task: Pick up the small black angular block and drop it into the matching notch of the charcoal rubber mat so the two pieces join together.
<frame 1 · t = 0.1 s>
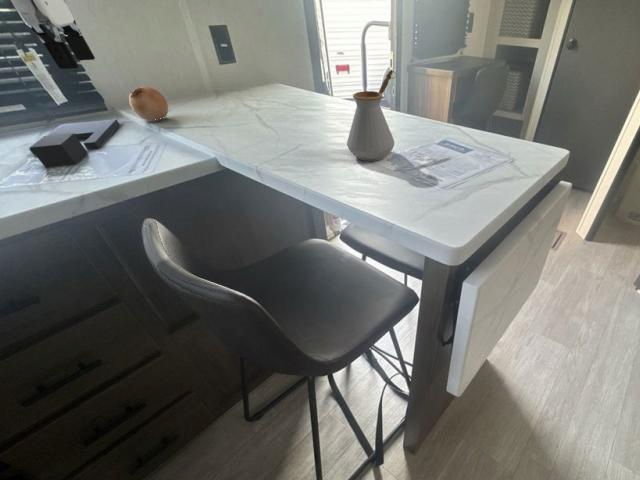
hand: (78, 63, 65), 18 cm above the countertop, tool pointing down, fingers open, 9 cm apart
coffee pot: (379, 148, 81), on the countertop
notched mat: (80, 138, 86), on the countertop
onion: (157, 120, 97), on the countertop
black angular block: (67, 159, 76), on the countertop
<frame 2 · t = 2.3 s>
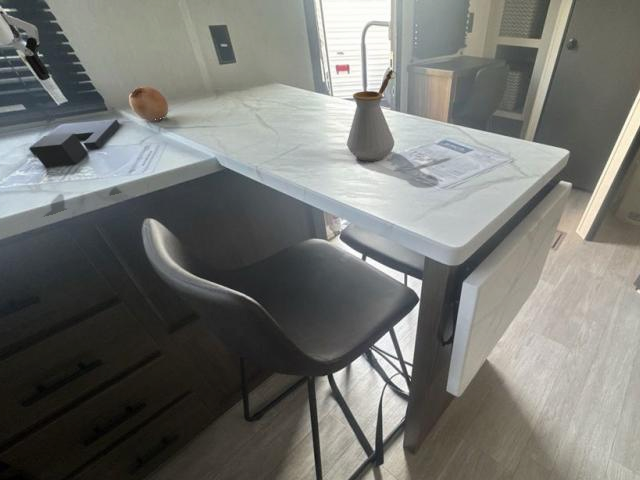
hand: (17, 80, 65), 16 cm above the countertop, tool pointing down, fingers open, 9 cm apart
nothing on the countertop moved.
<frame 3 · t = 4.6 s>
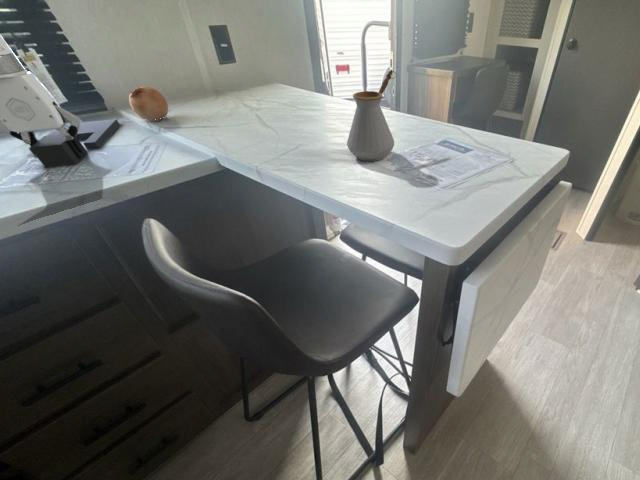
hand: (65, 157, 76), 1 cm above the countertop, tool pointing down, fingers closed on black angular block, 6 cm apart
black angular block: (67, 159, 76), on the countertop, touching gripper
everything else where it was.
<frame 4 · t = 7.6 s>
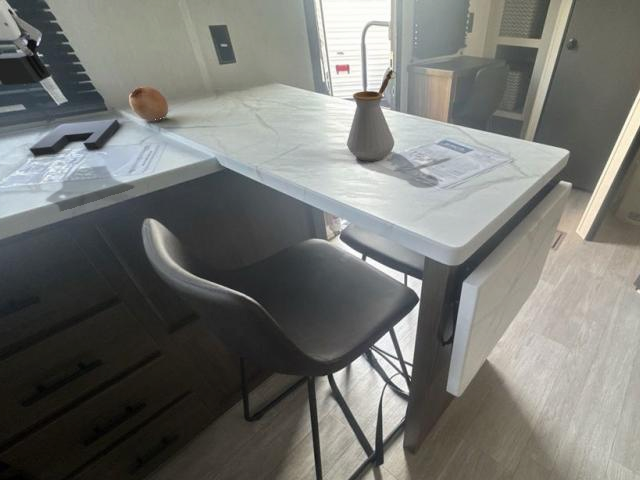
hand: (26, 77, 71), 15 cm above the countertop, tool pointing down, fingers closed on black angular block, 6 cm apart
black angular block: (28, 80, 71), point 15 cm above the countertop, touching gripper
everything else where it was.
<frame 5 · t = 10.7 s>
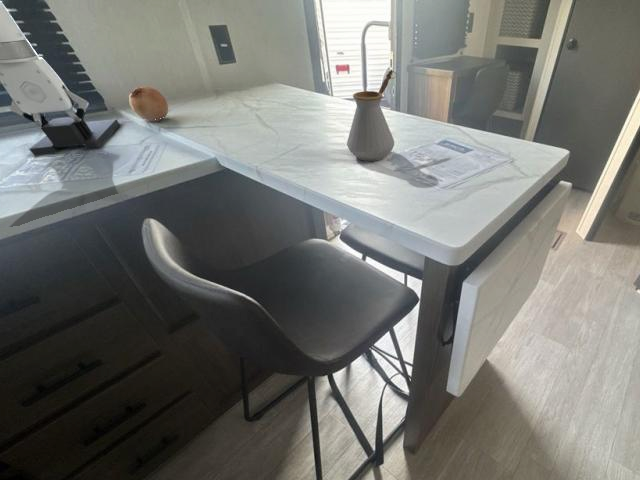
hand: (73, 138, 82), 2 cm above the countertop, tool pointing down, fingers closed on black angular block, 6 cm apart
black angular block: (75, 140, 82), point 1 cm above the countertop, touching gripper
everything else where it was.
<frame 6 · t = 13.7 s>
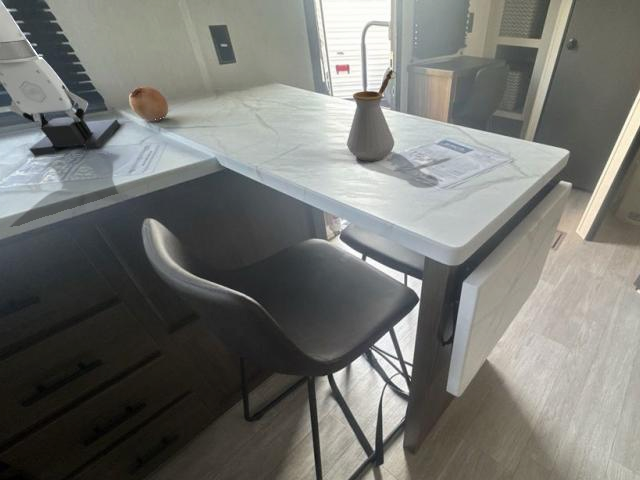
hand: (73, 138, 82), 2 cm above the countertop, tool pointing down, fingers closed on black angular block, 5 cm apart
black angular block: (74, 140, 82), point 1 cm above the countertop, touching gripper
everything else where it was.
when the fingers open (2 cm above the countertop, at t = 16.1 s): black angular block drops 2 cm, resting in notched mat.
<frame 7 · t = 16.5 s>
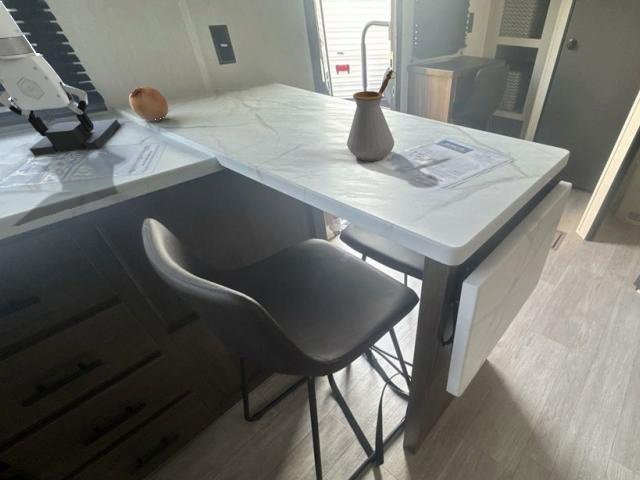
hand: (68, 132, 81), 3 cm above the countertop, tool pointing down, fingers open, 9 cm apart
black angular block: (77, 145, 83), resting in notched mat
everything else where it was.
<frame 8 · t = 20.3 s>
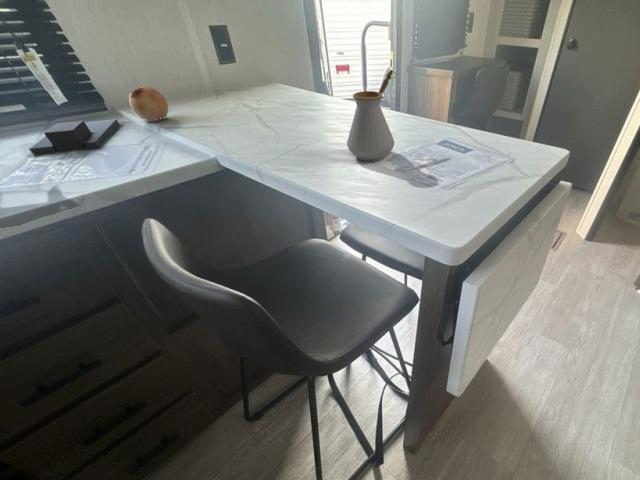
nothing on the countertop moved.
at the end: black angular block 0.1 cm from the target spot, resting in notched mat; black angular block tilted 0°; the gripper is holding nothing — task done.
